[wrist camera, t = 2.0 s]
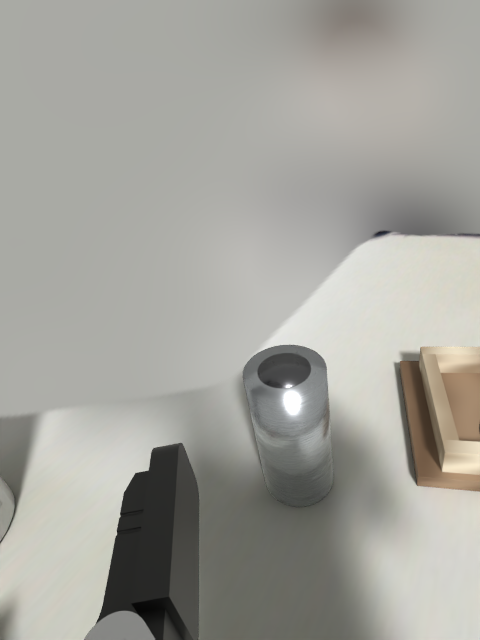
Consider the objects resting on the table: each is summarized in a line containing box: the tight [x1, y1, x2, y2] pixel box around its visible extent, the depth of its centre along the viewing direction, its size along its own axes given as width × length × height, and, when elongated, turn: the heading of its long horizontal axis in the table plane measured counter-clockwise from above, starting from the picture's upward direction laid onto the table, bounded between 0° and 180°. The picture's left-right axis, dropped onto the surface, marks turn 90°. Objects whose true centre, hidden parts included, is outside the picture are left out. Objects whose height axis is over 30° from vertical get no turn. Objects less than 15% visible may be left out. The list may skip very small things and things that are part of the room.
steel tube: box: [243, 345, 334, 507], centre depth 26 cm, size 5×5×10 cm
